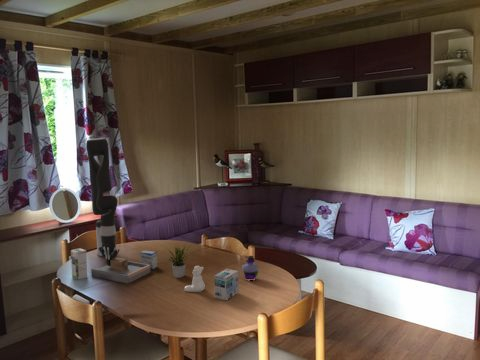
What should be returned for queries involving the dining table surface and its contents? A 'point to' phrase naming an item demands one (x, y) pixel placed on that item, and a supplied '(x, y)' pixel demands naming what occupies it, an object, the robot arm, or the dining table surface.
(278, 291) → the dining table surface
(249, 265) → the potion bottle
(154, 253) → the medicine box
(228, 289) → the light bulb box
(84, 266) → the syrup box
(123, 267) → the walnut block
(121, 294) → the dining table surface
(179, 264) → the house plant
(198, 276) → the white creature statuette
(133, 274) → the grey tray
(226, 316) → the dining table surface
